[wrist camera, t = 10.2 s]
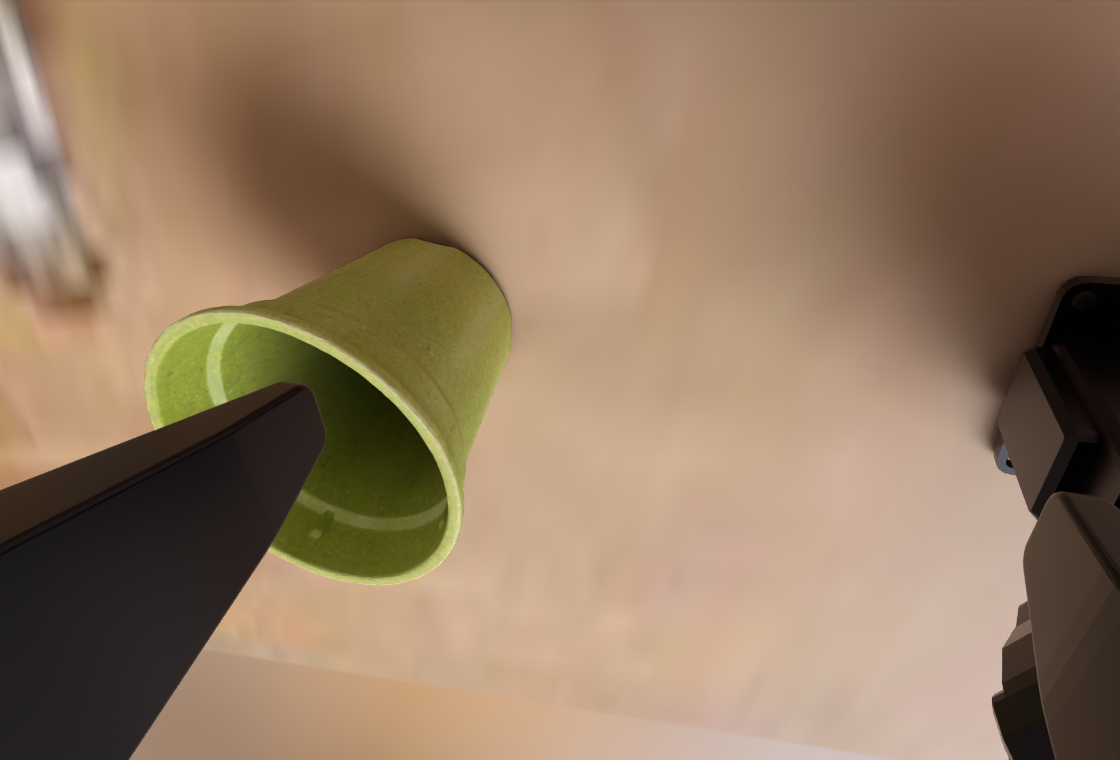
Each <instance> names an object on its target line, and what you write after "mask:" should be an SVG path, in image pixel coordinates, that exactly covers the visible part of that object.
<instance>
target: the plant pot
mask: <svg viewBox="0 0 1120 760" xmlns="http://www.w3.org/2000/svg"><path fill="white" fill-rule="evenodd" d="M510 346H511V315H510V311H509V308H508V305H507V302H506V300H505V298H504V296H503V294H502V292H501V290H500V289H499V287H498V286H497V284H496V283H495V281H494V280H493V279H492V278H491V276H490V275H489V274H488V273H487V272H486V271H485V270H484V269H483V268H482V267H481V266H480V265H479V264H478V263H477V262H475V261H474V260H473V259H472V258H471V257H469V256H468V255H466V254H465V253H463V252H462V251H460V250H458V249H456V248H453V247H448V246H443V245H438V244H434V243H430V242H426V241H422V240H419V239H416V238H408V239H401V240H397V241H393V242H391V243H388V244H386V245H384V246H382V247H381V248H379V249H377V250H375V251H373V252H371V253H369V254H367V255H365V256H363V257H361V258H359V259H357V260H355V261H353V262H351V263H349V264H347V265H345V266H343V267H340V268H338V269H336V270H334V271H332V272H330V273H328V274H326V275H324V276H322V277H320V278H318V279H316V280H314V281H312V282H310V283H308V284H306V285H304V286H302V287H300V288H298V289H295V290H293V291H291V292H289V293H287V294H285V295H283V296H281V297H279V298H277V299H274V300H263V301H257V302H253V303H249V304H246V305H243V306H222V307H214V308H208V309H204V310H201V311H198V312H195V313H192V314H190V315H188V316H186V317H184V318H182V319H180V320H179V321H177V322H175V323H173V324H172V325H171V326H169V327H168V328H167V329H166V330H164V331H163V332H162V333H161V335H160V336H159V337H158V339H157V340H156V341H155V343H154V344H153V346H152V348H151V350H150V352H149V355H148V357H147V363H146V365H145V368H146V371H145V382H144V392H145V399H146V404H147V409H148V412H149V415H150V418H151V421H152V424H153V427H154V430H156V429H159V428H161V427H164V426H167V425H169V424H172V423H174V422H177V421H179V420H182V419H185V418H187V417H190V416H192V415H195V414H197V413H200V412H203V411H205V410H208V409H210V408H213V407H215V406H218V405H220V404H223V403H226V402H228V401H231V400H233V399H236V398H238V397H241V396H244V395H246V394H249V393H251V392H254V391H256V390H259V389H262V388H264V387H267V386H269V385H272V384H274V383H277V382H283V381H285V382H293V383H300V384H305V385H307V386H309V387H310V388H311V389H312V390H313V392H314V394H315V397H316V400H317V404H318V407H319V410H320V413H321V416H322V419H323V422H324V425H325V428H326V442H325V446H324V448H323V450H322V452H321V454H320V456H319V458H318V460H317V462H316V464H315V465H314V467H313V469H312V471H311V473H310V475H309V477H308V479H307V481H306V482H305V484H304V486H303V488H302V490H301V492H300V494H299V496H298V498H297V499H296V501H295V503H294V505H293V507H292V509H291V511H290V513H289V515H288V516H287V518H286V520H285V522H284V524H283V526H282V527H281V529H280V531H279V533H278V535H277V536H276V538H275V540H274V541H273V543H272V544H271V546H270V548H269V549H268V551H269V552H270V553H272V554H274V555H276V556H278V557H280V558H282V559H284V560H286V561H288V562H290V563H292V564H294V565H297V566H299V567H301V568H303V569H305V570H308V571H310V572H313V573H316V574H319V575H322V576H325V577H329V578H332V579H336V580H339V581H344V582H350V583H357V584H365V585H391V584H398V583H403V582H406V581H410V580H414V579H417V578H419V577H421V576H423V575H426V574H427V573H429V572H431V571H432V570H433V569H435V568H436V567H437V566H439V565H440V564H441V563H442V562H443V560H444V559H445V558H446V557H447V555H448V554H449V553H450V551H451V550H452V548H453V546H454V544H455V542H456V540H457V538H458V535H459V532H460V529H461V526H462V522H463V514H464V495H463V485H464V479H465V470H466V459H467V456H468V454H469V451H470V449H471V446H472V444H473V441H474V439H475V436H476V434H477V431H478V429H479V426H480V424H481V421H482V419H483V416H484V414H485V411H486V408H487V406H488V403H489V401H490V399H491V396H492V394H493V391H494V389H495V387H496V384H497V382H498V380H499V377H500V375H501V373H502V370H503V368H504V365H505V363H506V360H507V357H508V355H509V352H510Z"/></svg>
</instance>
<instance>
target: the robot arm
mask: <svg viewBox="0 0 1120 760" xmlns="http://www.w3.org/2000/svg"><path fill="white" fill-rule="evenodd" d="M1085 291H1089V292H1091V295H1090V296H1089V297H1088V298H1087V299H1086V300H1084V301H1081V302H1073V301H1072V299H1073V298H1074V297H1075V295H1077V294H1079V293H1081V292H1085ZM997 424H998V427H999V430H1000V433H1001V436H1000V438H999V441H998V443H997V446H996V448H995V451H994V458H995V461H996V464H997V466H998V468H999V469H1000V470H1001V471H1002V472H1004V473H1007V474H1011V475H1016V477H1017V479H1018V482H1019V485H1020V488H1021V490H1022V493H1023V496H1024V498H1025V501H1026V504H1027V507H1028V509H1029V511H1030V512H1031V514H1032V515H1033V516H1034V517H1035V518H1036V519H1037V520H1038V521H1037V523H1036V525H1035V527H1034V529H1033V531H1032V533H1031V535H1030V537H1029V539H1028V542H1027V544H1026V546H1025V550H1024V557H1023V568H1024V576H1025V584H1026V592H1027V599H1028V601H1026V602H1025V603H1023V604H1021V605H1020V606H1019V608H1018V616H1017V624H1016V627H1015V629H1014V630H1013V632H1012V634H1011V635H1010V637H1009V638H1008V640H1007V642H1006V643H1005V645H1004V647H1003V648H1002V685H1003V690H1002V691H1000V692H998V693H996V694H994V696H993V697H992V707H993V714H994V717H995V720H996V723H997V727H998V730H999V733H1000V736H1001V739H1002V742H1003V745H1004V748H1005V750H1006V752H1007V754H1008V757H1009V760H1120V278H1111V277H1095V276H1080V277H1075V278H1073V279H1070V280H1068V281H1067V282H1065V283H1064V284H1063V285H1061V287H1060V288H1059V290H1058V291H1057V294H1056V296H1055V299H1054V301H1053V304H1052V306H1051V309H1050V311H1049V314H1048V316H1047V319H1046V321H1045V324H1044V327H1043V329H1042V332H1041V334H1040V337H1039V339H1038V342H1037V344H1036V346H1033V347H1031V348H1030V349H1028V350H1027V351H1025V352H1024V353H1023V354H1022V356H1021V359H1020V361H1019V364H1018V366H1017V369H1016V372H1015V374H1014V377H1013V379H1012V382H1011V385H1010V387H1009V390H1008V392H1007V395H1006V398H1005V400H1004V403H1003V405H1002V408H1001V411H1000V413H999V416H998V418H997ZM325 442H326V428H325V425H324V422H323V419H322V416H321V413H320V410H319V407H318V404H317V400H316V397H315V394H314V392H313V390H312V389H311V388H310V387H309V386H307V385H305V384H300V383H293V382H285V381H283V382H277V383H274V384H272V385H269V386H267V387H264V388H262V389H259V390H256V391H254V392H251V393H249V394H246V395H244V396H241V397H238V398H236V399H233V400H231V401H228V402H226V403H223V404H220V405H218V406H215V407H213V408H210V409H208V410H205V411H203V412H200V413H197V414H195V415H192V416H190V417H187V418H185V419H182V420H179V421H177V422H174V423H172V424H169V425H167V426H164V427H161V428H159V429H156V430H154V431H151V432H149V433H146V434H143V435H141V436H138V437H136V438H133V439H131V440H128V441H125V442H123V443H120V444H118V445H115V446H113V447H110V448H107V449H105V450H102V451H100V452H97V453H95V454H92V455H89V456H87V457H84V458H82V459H79V460H77V461H74V462H72V463H69V464H66V465H64V466H61V467H59V468H56V469H54V470H51V471H48V472H46V473H43V474H41V475H38V476H36V477H33V478H30V479H28V480H25V481H23V482H20V483H18V484H15V485H12V486H10V487H7V488H5V489H2V490H0V760H129V759H130V758H131V756H132V755H133V753H134V752H135V750H136V749H137V747H138V746H139V744H140V743H141V741H142V739H143V738H144V737H145V735H146V733H147V732H148V730H149V729H150V727H151V726H152V724H153V723H154V721H155V720H156V718H157V717H158V715H159V714H160V712H161V711H162V709H163V708H164V706H165V705H166V703H167V702H168V700H169V699H170V697H171V695H172V694H173V693H174V691H175V690H176V688H177V687H178V685H179V684H180V682H181V681H182V679H183V678H184V676H185V674H186V673H187V672H188V670H189V668H190V667H191V666H192V664H193V662H194V661H195V659H196V658H197V656H198V655H199V653H200V652H201V650H202V649H203V647H204V646H205V644H206V643H207V641H208V640H209V638H210V637H211V635H212V634H213V632H214V631H215V629H216V628H217V626H218V625H219V623H220V622H221V620H222V619H223V617H224V616H225V614H226V613H227V611H228V610H229V608H230V607H231V605H232V604H233V602H234V601H235V599H236V598H237V596H238V595H239V593H240V591H241V590H242V588H243V587H244V585H245V584H246V582H247V581H248V579H249V578H250V576H251V575H252V573H253V572H254V570H255V569H256V567H257V566H258V564H259V563H260V561H261V560H262V558H263V557H264V555H265V554H266V552H267V551H268V549H269V548H270V546H271V544H272V543H273V541H274V540H275V538H276V536H277V535H278V533H279V531H280V529H281V527H282V526H283V524H284V522H285V520H286V518H287V516H288V515H289V513H290V511H291V509H292V507H293V505H294V503H295V501H296V499H297V498H298V496H299V494H300V492H301V490H302V488H303V486H304V484H305V482H306V481H307V479H308V477H309V475H310V473H311V471H312V469H313V467H314V465H315V464H316V462H317V460H318V458H319V456H320V454H321V452H322V450H323V448H324V446H325ZM1009 457H1010V460H1008V458H1009Z"/></svg>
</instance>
